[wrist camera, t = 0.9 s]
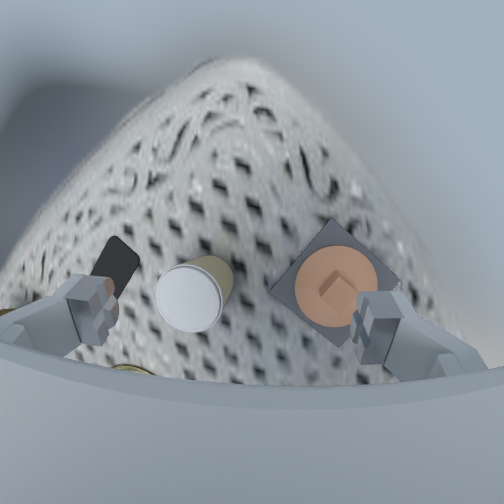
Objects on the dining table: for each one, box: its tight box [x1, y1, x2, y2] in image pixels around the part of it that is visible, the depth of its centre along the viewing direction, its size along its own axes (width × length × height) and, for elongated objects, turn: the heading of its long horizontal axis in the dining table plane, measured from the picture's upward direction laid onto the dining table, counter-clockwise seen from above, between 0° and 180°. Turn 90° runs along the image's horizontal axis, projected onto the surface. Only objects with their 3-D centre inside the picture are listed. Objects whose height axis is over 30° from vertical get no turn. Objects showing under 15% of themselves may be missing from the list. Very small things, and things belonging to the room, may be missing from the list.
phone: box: [90, 236, 140, 300], centre depth 54 cm, size 7×1×15 cm
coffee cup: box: [156, 255, 234, 333], centre depth 46 cm, size 9×9×12 cm
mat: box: [269, 218, 400, 348], centre depth 48 cm, size 15×15×1 cm
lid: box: [295, 245, 378, 327], centre depth 46 cm, size 13×13×5 cm
